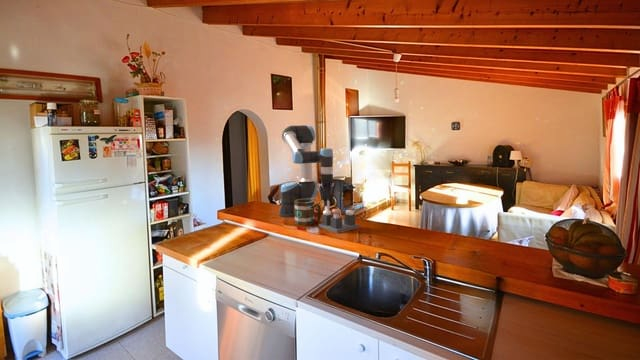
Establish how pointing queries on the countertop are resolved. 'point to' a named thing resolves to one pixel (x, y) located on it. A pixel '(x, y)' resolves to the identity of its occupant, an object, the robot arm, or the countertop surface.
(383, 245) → the countertop surface
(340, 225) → the knob mount
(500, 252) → the countertop surface
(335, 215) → the terracotta knob
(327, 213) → the cream knob near
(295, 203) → the mug
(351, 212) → the cream knob left
